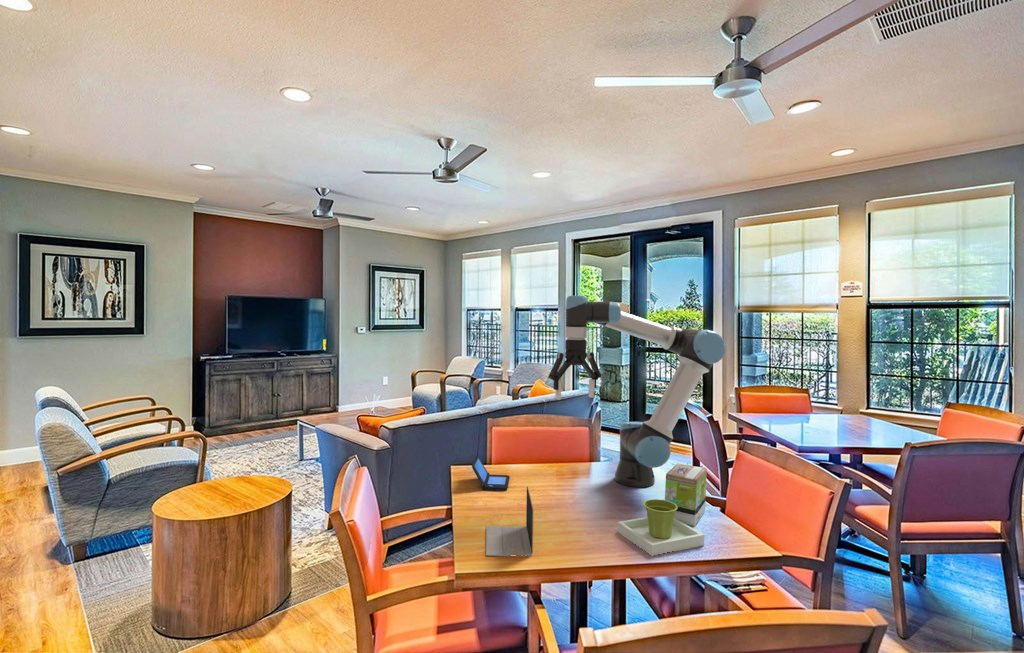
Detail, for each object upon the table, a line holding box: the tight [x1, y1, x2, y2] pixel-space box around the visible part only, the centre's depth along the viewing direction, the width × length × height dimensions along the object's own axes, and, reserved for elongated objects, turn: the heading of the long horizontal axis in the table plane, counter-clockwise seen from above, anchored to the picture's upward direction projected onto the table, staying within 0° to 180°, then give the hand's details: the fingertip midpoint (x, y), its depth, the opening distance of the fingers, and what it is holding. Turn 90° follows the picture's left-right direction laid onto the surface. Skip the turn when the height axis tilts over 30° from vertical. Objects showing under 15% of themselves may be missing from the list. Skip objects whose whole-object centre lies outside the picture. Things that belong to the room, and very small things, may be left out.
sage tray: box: [617, 516, 705, 557], centre depth 144 cm, size 18×16×3 cm
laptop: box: [485, 486, 534, 557], centre depth 141 cm, size 18×12×13 cm
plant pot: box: [643, 498, 678, 539], centre depth 144 cm, size 9×9×9 cm
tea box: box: [664, 462, 708, 527], centre depth 161 cm, size 15×10×15 cm
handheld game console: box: [471, 455, 511, 492], centre depth 189 cm, size 16×13×9 cm
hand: (575, 398), depth 178 cm, fingers open, 13 cm apart
